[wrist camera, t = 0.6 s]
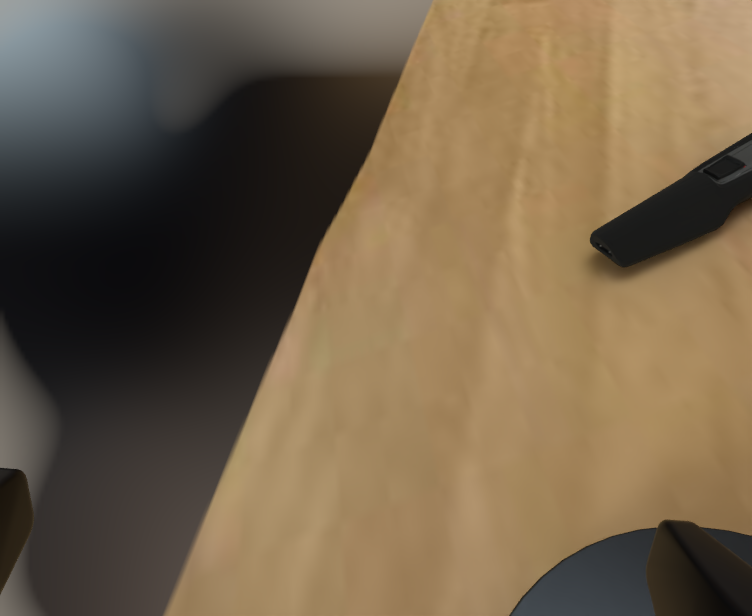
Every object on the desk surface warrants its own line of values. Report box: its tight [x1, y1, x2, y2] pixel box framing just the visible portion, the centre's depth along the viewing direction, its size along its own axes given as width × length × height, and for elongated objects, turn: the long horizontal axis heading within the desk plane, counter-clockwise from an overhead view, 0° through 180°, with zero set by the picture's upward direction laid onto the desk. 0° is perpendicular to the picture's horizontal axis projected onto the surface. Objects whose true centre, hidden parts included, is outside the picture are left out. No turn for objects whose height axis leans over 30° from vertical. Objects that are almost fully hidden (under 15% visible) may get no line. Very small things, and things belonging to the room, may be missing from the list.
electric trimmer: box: [590, 133, 752, 267], centre depth 34 cm, size 4×16×3 cm, turn 119°
